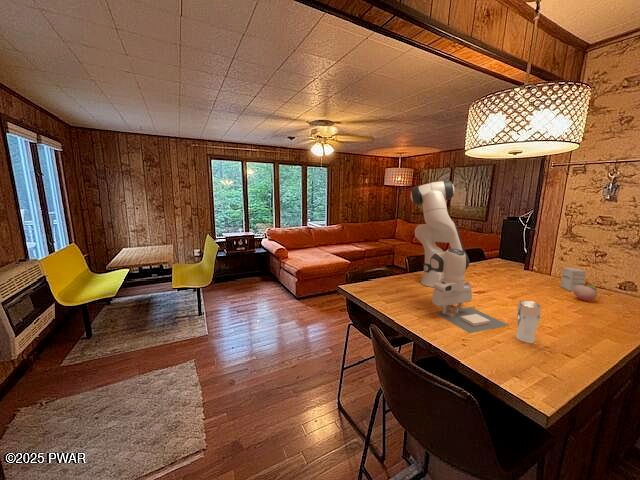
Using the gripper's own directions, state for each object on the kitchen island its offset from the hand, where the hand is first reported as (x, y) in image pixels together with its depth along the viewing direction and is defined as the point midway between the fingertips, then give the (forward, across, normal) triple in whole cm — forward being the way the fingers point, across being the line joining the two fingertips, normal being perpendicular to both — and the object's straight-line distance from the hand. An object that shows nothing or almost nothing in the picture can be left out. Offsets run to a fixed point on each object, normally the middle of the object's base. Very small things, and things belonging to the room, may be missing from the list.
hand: (451, 311), depth 123 cm
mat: (+2, -5, +6) cm, 8 cm away
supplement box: (+2, -97, -7) cm, 97 cm away
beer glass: (+2, -11, +26) cm, 28 cm away
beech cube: (+1, 0, 0) cm, 1 cm away
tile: (+1, -9, +9) cm, 13 cm away
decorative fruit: (+2, -82, +7) cm, 82 cm away
